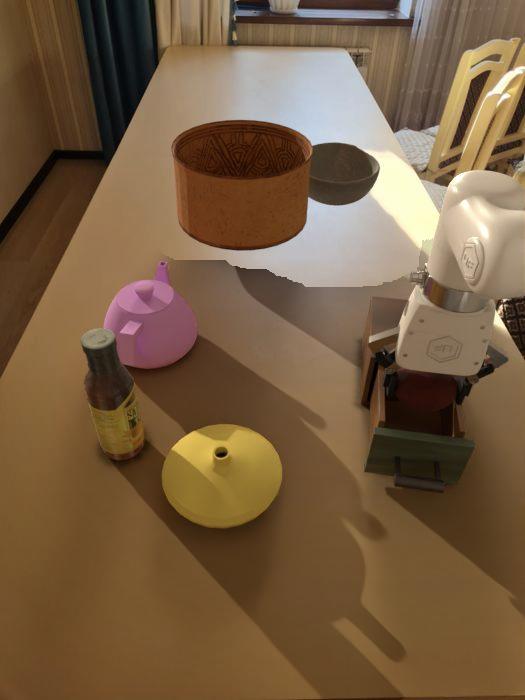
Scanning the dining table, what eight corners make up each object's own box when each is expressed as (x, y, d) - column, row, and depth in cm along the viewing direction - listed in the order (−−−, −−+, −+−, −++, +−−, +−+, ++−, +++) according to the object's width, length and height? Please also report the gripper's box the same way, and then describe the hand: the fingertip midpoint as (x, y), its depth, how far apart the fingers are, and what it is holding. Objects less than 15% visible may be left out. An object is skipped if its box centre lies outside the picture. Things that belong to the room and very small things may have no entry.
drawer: (461, 513, 69) (480, 476, 63) (363, 499, 70) (373, 462, 65) (447, 409, 82) (462, 370, 76) (365, 399, 83) (373, 360, 78)
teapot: (181, 394, 84) (174, 336, 76) (85, 383, 86) (68, 325, 77) (210, 307, 100) (207, 252, 92) (129, 299, 102) (119, 244, 93)
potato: (433, 434, 69) (445, 402, 65) (377, 402, 73) (385, 370, 69) (459, 402, 73) (471, 370, 69) (405, 373, 77) (414, 341, 73)
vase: (271, 548, 66) (273, 518, 61) (147, 526, 68) (139, 496, 63) (289, 446, 77) (291, 414, 73) (182, 429, 79) (178, 397, 74)
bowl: (275, 203, 131) (276, 163, 124) (318, 173, 143) (321, 135, 136) (349, 228, 122) (355, 187, 116) (387, 195, 135) (395, 155, 128)
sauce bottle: (146, 460, 75) (124, 356, 62) (100, 465, 74) (68, 362, 61) (146, 423, 80) (125, 320, 66) (102, 428, 79) (73, 325, 66)
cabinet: (450, 415, 82) (468, 368, 75) (360, 404, 84) (370, 357, 77) (441, 351, 93) (457, 305, 86) (362, 342, 94) (371, 295, 87)
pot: (263, 286, 106) (265, 191, 92) (153, 244, 116) (141, 153, 102) (326, 226, 123) (336, 138, 109) (226, 194, 133) (224, 110, 120)
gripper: (378, 297, 58) (356, 405, 70) (546, 315, 56) (495, 423, 68) (377, 259, 64) (357, 366, 75) (530, 274, 62) (485, 381, 74)
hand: (423, 392), depth 72 cm, fingers closed on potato, 8 cm apart
